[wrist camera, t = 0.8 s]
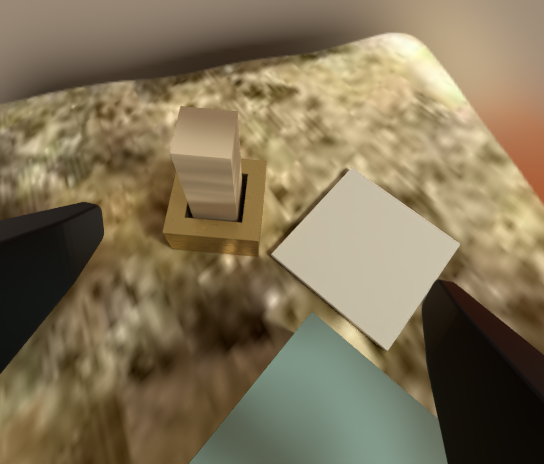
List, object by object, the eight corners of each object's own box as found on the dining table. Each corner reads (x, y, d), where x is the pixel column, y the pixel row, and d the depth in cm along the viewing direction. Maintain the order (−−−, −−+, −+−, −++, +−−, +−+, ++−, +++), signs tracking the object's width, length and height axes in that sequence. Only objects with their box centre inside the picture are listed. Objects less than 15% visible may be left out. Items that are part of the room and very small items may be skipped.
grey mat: (385, 351, 23) (387, 350, 22) (270, 256, 25) (271, 254, 25) (457, 246, 26) (460, 244, 26) (350, 170, 28) (351, 167, 28)
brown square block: (238, 234, 26) (230, 158, 17) (198, 231, 26) (169, 153, 17) (243, 199, 27) (237, 111, 18) (204, 195, 27) (180, 106, 18)
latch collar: (258, 256, 25) (258, 241, 22) (172, 249, 25) (162, 232, 22) (265, 183, 27) (266, 161, 25) (187, 176, 27) (180, 153, 25)
